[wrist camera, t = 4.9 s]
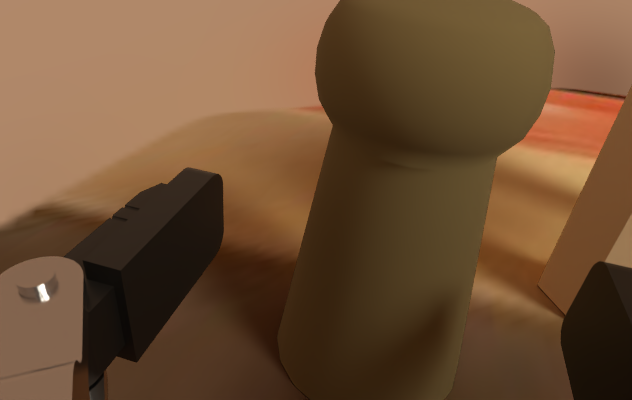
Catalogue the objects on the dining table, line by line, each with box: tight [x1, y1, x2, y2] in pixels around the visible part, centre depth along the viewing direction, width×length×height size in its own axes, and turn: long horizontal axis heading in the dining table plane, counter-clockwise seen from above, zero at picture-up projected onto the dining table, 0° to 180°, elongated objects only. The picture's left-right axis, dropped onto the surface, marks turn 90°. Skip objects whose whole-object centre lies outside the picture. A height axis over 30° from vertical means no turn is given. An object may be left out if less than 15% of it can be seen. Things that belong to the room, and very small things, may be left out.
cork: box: [277, 0, 555, 400], centre depth 13 cm, size 6×6×11 cm
